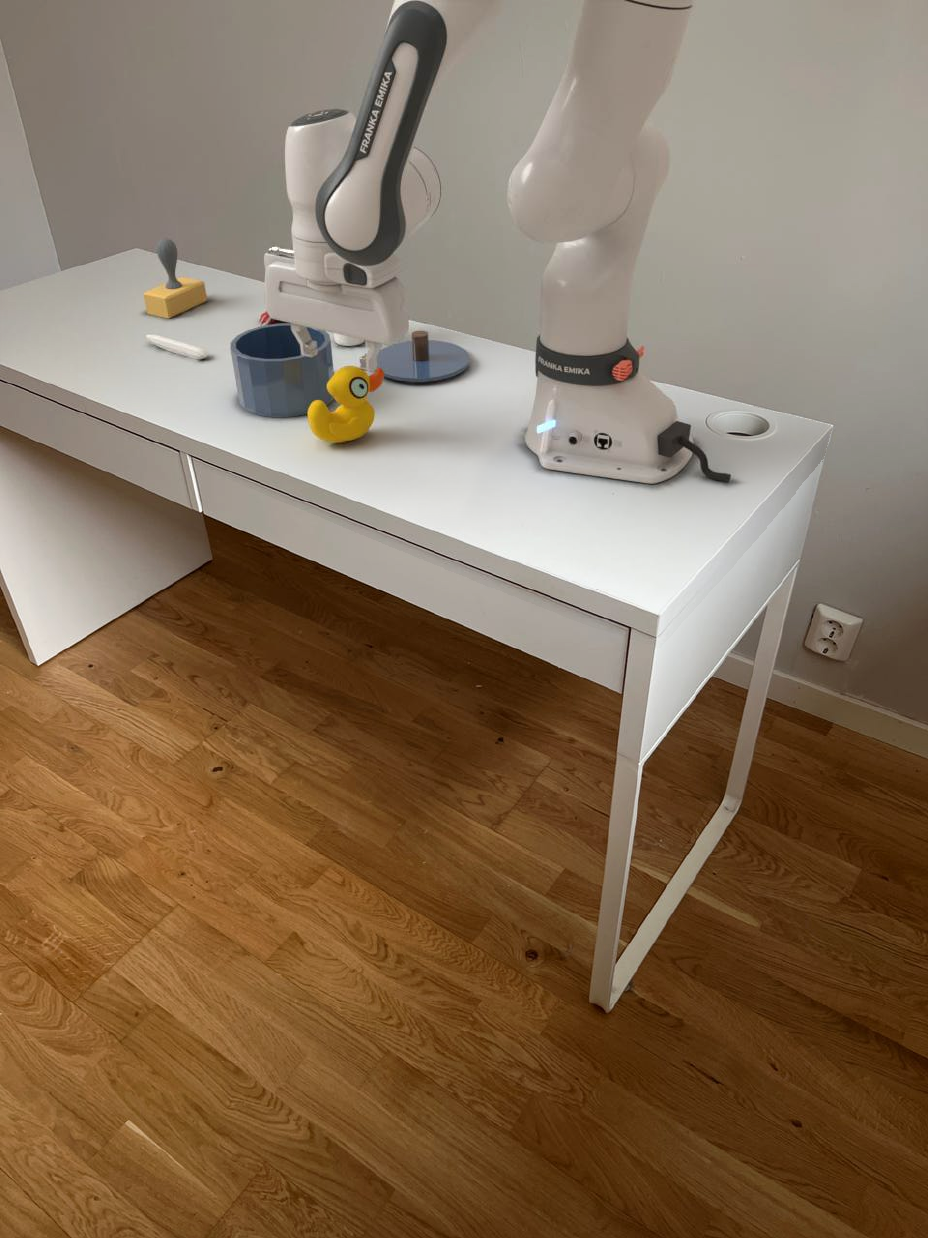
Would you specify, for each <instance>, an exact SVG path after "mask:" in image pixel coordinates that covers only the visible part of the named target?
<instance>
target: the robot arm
mask: <svg viewBox="0 0 928 1238" xmlns="http://www.w3.org/2000/svg"><path fill="white" fill-rule="evenodd" d="M506 2H507V0H394V1H393V4H392V7H391V11H390V14H389V18H388V20H387V21H388V22H387V24H386V29H385V33H384V36H383V39H382V42H381V45H380V47H379V51H378V54H377V56H376V59H375V61H374V65H373V68H372V71H371V73H370V78H369V80H368V82H367V86H366V89H365V92H364V96H363V99H362V102H361V105H360V108H359V111H358V113H357V117H356V116H355V115H354V114H353V113H352V112H351V111H349V110H346V109H341V108H330V109H323V110H318V111H315V112H312V113H307V114H305V115H302V116H300V117H299V118H297V119H295V120H294V121H293V122H291V123H290V125H289V126H288V128H287V130H286V134H285V140H284V167H285V168H284V169H285V182H286V183H285V185H286V193H287V198H288V201H289V203H290V206H291V211H292V222H291V228H290V229H291V230H290V233H291V243H292V247H283V246H281V245H277V244H276V245H272V246H271V247H270V248H268V249H267V250H266V251H265V253H264V254H263V262H264V270H265V273H264V289H263V290H264V308H265V312H266V311H267V313H268V314H269V316H270V317H271V318H272V319H275V320H276V321H280V322H284V323H291V330H292V332H293V334H294V336H295V337H296V339H297V341H298V342H299V344H300V348H301V355H302V356H306V357H311V358H312V357H313V356H316V355H317V353H318V349H317V341H313V340H312V339H311V337H310V334H309V332H308V330H307V327H310V328H315V329H319V330H323V331H326V332H327V333H331V334H332V333H336V334H341V335H345V336H350V337H354V338H358V339H363V340H365V341H364V344H365V348H367V349H368V351H367V353H365V354H364V355H362V356H361V357H359V364H360V366H359V368H360V369H361V370H364V371H365V372H367V373H373V372H374V371H376V368H377V355H378V353H379V352H380V350H381V349H383V346H390V345H393V344H396V343H399V342H401V341H402V340H403V339H404V338H405V337H406V336H407V334H408V333H409V328H410V324H409V323H410V322H409V320H410V319H409V307H408V299H407V298H408V297H407V292H406V288H405V286H404V284H403V282H402V281H401V279H400V278H399V277H397V276H399V275H400V274H401V273H402V272H403V271H402V270H403V262H402V259H401V258H400V257H399V256H398V255H397V254H395V251H397V249H398V248H399V247H400V246H401V245H402V243H404V242H405V241H407V239H408V238H410V237H411V236H413V234H415V233H416V232H417V231H418V230H419V229H421V227H423V226H424V225H425V224H426V223H427V222H428V221H429V220H430V219H431V218H432V217H433V216H434V214H435V213H436V212H437V210H438V208H439V205H440V202H441V196H442V184H441V179H440V174H439V173H438V172H439V171H438V170H437V168H436V166H435V164H434V163H433V161H432V160H431V158H430V157H429V156H428V155H427V154H426V153H425V152H423V151H422V150H421V149H419V148H417V147H415V145H416V143H417V139H418V137H419V134H420V130H421V127H422V125H423V121H424V119H425V116H426V113H427V111H428V108H429V106H430V103H431V101H432V100H433V97H434V96H435V94H436V92H437V91H438V90H439V87H440V86H441V84H442V83H443V82H444V80H445V79H446V78H447V76H448V75H449V74H450V73H451V72H452V71H453V69H454V68H455V67H456V66H457V65H458V64H459V63H460V62H461V61H462V60H463V59H464V58H466V56H467V55H468V54H470V52H471V51H473V50H474V49H475V48H476V47H477V46H478V45H479V44H480V43H481V42H482V41H483V40H485V38H487V36H488V35H489V34H490V32H491V31H492V29H493V27H494V25H495V24H496V22H497V20H498V19H499V16H500V14H501V12H502V11H503V8H504V6H505V5H506ZM694 2H695V0H583V3H582V8H581V12H580V16H579V20H578V23H577V28H576V31H575V36H574V41H573V44H572V48H571V52H570V55H569V59H568V61H567V64H566V67H565V70H564V72H563V75H562V78H561V80H560V82H559V84H558V87H557V89H556V91H555V92H554V93H555V94H554V96H553V98H552V100H551V103H550V105H549V107H548V109H547V112H546V114H545V116H544V119H543V120H542V123H541V124H540V126H539V129H538V131H537V133H536V135H535V138H534V139H533V141H532V143H531V145H530V146H529V148H528V149H527V151H526V152H525V154H524V155H523V156H522V157H521V159H519V161H518V163H516V165H515V166H514V168H513V169H512V172H511V174H510V175H509V179H508V183H507V188H506V189H507V190H506V192H507V193H506V198H507V206H508V210H509V212H510V215H511V218H512V221H513V222H514V223H515V225H516V227H517V228H518V229H519V230H520V232H521V233H522V234H524V235H525V237H527V238H529V239H530V240H531V241H534V242H536V243H540V244H555V245H556V246H555V248H554V251H553V254H552V256H551V258H550V260H549V261H548V264H547V265H546V266H545V269H544V271H543V274H542V277H541V282H540V311H539V314H540V316H539V317H540V318H539V335H538V336H537V338H536V342H535V343H536V345H535V358H534V365H535V377H536V387H535V394H534V401H533V405H532V406H533V407H532V412H531V416H530V419H529V424H528V426H527V429H526V432H525V435H524V442H525V445H526V446H527V448H529V450H530V451H531V452H532V453H534V454H535V455H536V456H537V457H538V460H539V464H540V465H541V467H542V468H543V469H547V470H550V471H551V470H553V471H559V472H566V473H573V474H579V475H586V476H593V477H601V478H608V479H615V480H620V481H629V482H634V483H635V482H636V483H643V484H651V485H652V484H653V485H654V484H658V483H661V482H664V481H667V480H669V479H670V478H673V477H674V476H675V475H677V474H678V473H679V472H681V471H682V470H683V469H684V468H685V467H686V466H687V464H688V463H689V461H690V460H691V459H692V456H693V454H694V455H695V456H696V457H697V459H698V460H699V465H700V470H701V473H703V475H704V476H705V477H706V478H709V479H711V480H713V481H714V480H715V481H722V482H730V480H731V476H732V475H731V474H730V473H726V472H717V471H714V470H712V469H711V468H710V467H709V461H708V457H707V455H706V453H705V452H704V451H703V450H702V448H700V447H699V446H698V445H696V444H695V443H694V439H693V437H692V435H691V429H692V424H689V423H686V422H683V421H679V419H678V417H679V416H678V411H677V407H676V404H675V402H674V401H673V400H672V399H671V398H670V397H669V396H668V395H666V393H664V392H663V391H662V390H661V389H660V388H659V387H658V386H656V384H654V383H653V382H652V381H651V380H650V379H649V378H648V377H647V376H646V374H644V373H643V372H641V370H640V369H639V368H640V359H641V358H642V357H643V356H644V349H645V345H642V346H640V347H639V349H636V348H635V347H634V346H633V345H632V343H631V341H630V339H629V338H628V331H629V330H628V329H629V317H630V306H631V295H632V287H633V280H634V274H635V270H636V265H637V261H638V258H639V255H640V251H641V249H642V245H643V240H644V237H645V235H646V230H647V227H648V225H649V224H648V223H649V220H650V216H651V213H652V210H653V207H654V204H655V202H656V199H657V197H658V195H659V193H660V191H661V189H662V187H663V186H664V184H665V182H666V180H667V178H668V175H669V171H670V166H671V155H670V149H669V145H668V143H667V140H666V138H665V136H664V134H663V133H662V131H661V130H660V129H659V128H658V127H657V126H656V125H654V124H653V123H652V122H650V121H648V118H649V117H650V115H651V114H652V112H653V109H654V108H655V107H656V105H657V104H658V102H659V101H660V100H661V98H662V97H663V95H664V94H665V93H666V91H667V89H668V87H669V85H670V83H671V80H672V76H673V73H674V70H675V66H676V63H677V60H678V56H679V54H680V50H681V46H682V43H683V39H684V36H685V33H686V30H687V27H688V23H689V19H690V17H691V12H692V9H693V6H694Z"/></svg>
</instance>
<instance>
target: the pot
mask: <svg viewBox="0 0 928 1238" xmlns="http://www.w3.org/2000/svg"><path fill="white" fill-rule="evenodd" d="M307 330H308V332H309V334H310V337H311V339H312V340H313V341H317V349H318V353H317V355H316V356H313V357H312V358H311V357H306V356H302V355H301V348H300V344H299V342H298V341H297V339H296V337H295V336H294V334H293V332H292V330H291V323H288V322H284V323H281V322H280V323H273V324H269V325H266V326H261V327H258V326H257V327H254V328H251V329H247V330H244V331H243V332H241V333H239V334H238V335H236V336H235V337H234V338H233V339H232V340H231V341H230V348H229V349H230V354H231V361H232V367H233V368H232V369H233V373H234V379H235V386H236V391H237V392H236V393H237V397H238V398H237V399H238V402H239V405H240V407H242V408H243V409H244V410H245V411H246V412H248V413H251V414H253V415H256V416H261V417H267V418H291V417H298V416H303V415H308V409H309V407H310V405H311V403H312V402H313V401H315V400H321V401H323V402H324V403H325V405H326V406H327V407H328V405H329V404H331V403H332V401H333V400H335V399H334V397H333V396H332V395H331V394H330V393H329V392H328V390H327V383H328V381H329V380H330V379H331V378H332V376H333V375H334V374H335V369H334V362H333V352H332V351H333V350H332V340H331V336H330V333H329V332H328V331H323V330H319V329H315V328H310V327H307Z"/></svg>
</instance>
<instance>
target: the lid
mask: <svg viewBox="0 0 928 1238" xmlns="http://www.w3.org/2000/svg"><path fill="white" fill-rule="evenodd" d="M429 337H430V336H429V332H428V331H426V330H415V331H413V332H411V340H406V341H399V342H397V343H395V344H393V345H390V346H389V345H386V346H385V347H382V348H381V350H380V352H379V353H378V355H377V368H376V370H377V369H378V368H379V367H380V368H381V369H382V370H383V372H384V377H385V378H388V379H392V380H396V381H399V382H408V383H428V382H435V381H441V380H444V379H445V380H446V379H449V378H452V377H454V376H456V375H459V374H461V373H462V372H464V371H465V370H466V369H467V368H468V367H469V365H470V361H471V357H470V354H469V352H468V351H467V350H466V349H464V347H461V346H460V345H458V344H455V343H452V342H449V341H443V340H435V339H430V338H429ZM376 370H375V371H376Z"/></svg>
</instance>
